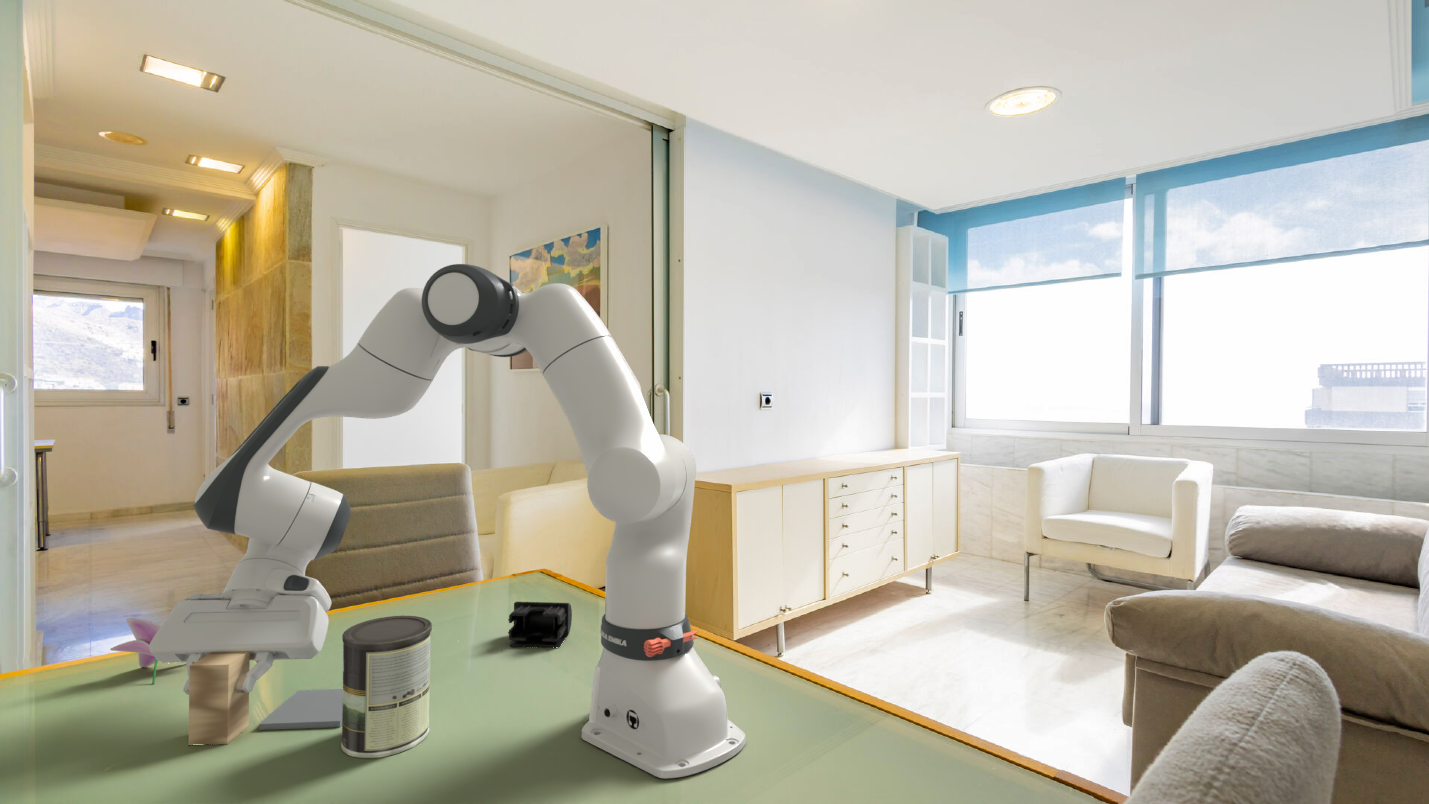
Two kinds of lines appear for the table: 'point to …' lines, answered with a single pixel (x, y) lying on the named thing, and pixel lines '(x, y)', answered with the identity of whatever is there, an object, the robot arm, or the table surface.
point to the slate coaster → (307, 711)
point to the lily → (141, 642)
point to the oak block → (217, 698)
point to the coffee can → (385, 686)
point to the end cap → (539, 624)
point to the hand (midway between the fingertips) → (217, 692)
